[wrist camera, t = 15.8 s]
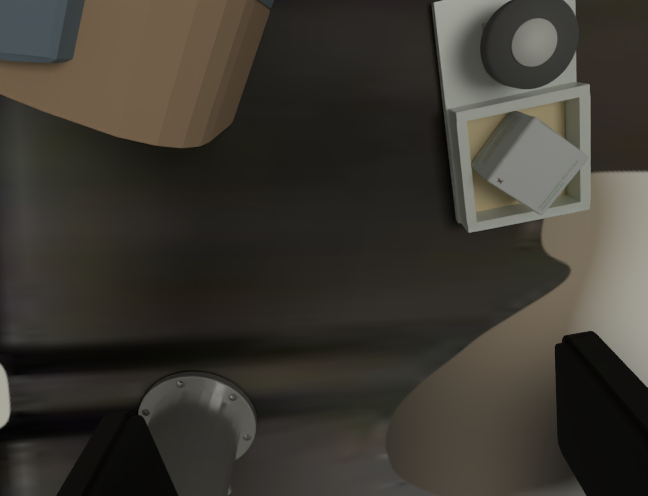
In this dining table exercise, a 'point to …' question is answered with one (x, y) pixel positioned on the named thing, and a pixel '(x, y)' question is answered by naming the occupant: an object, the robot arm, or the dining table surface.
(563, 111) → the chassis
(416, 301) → the dining table surface
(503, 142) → the small box
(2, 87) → the alarm clock
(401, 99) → the dining table surface
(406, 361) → the dining table surface
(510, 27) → the wheel
